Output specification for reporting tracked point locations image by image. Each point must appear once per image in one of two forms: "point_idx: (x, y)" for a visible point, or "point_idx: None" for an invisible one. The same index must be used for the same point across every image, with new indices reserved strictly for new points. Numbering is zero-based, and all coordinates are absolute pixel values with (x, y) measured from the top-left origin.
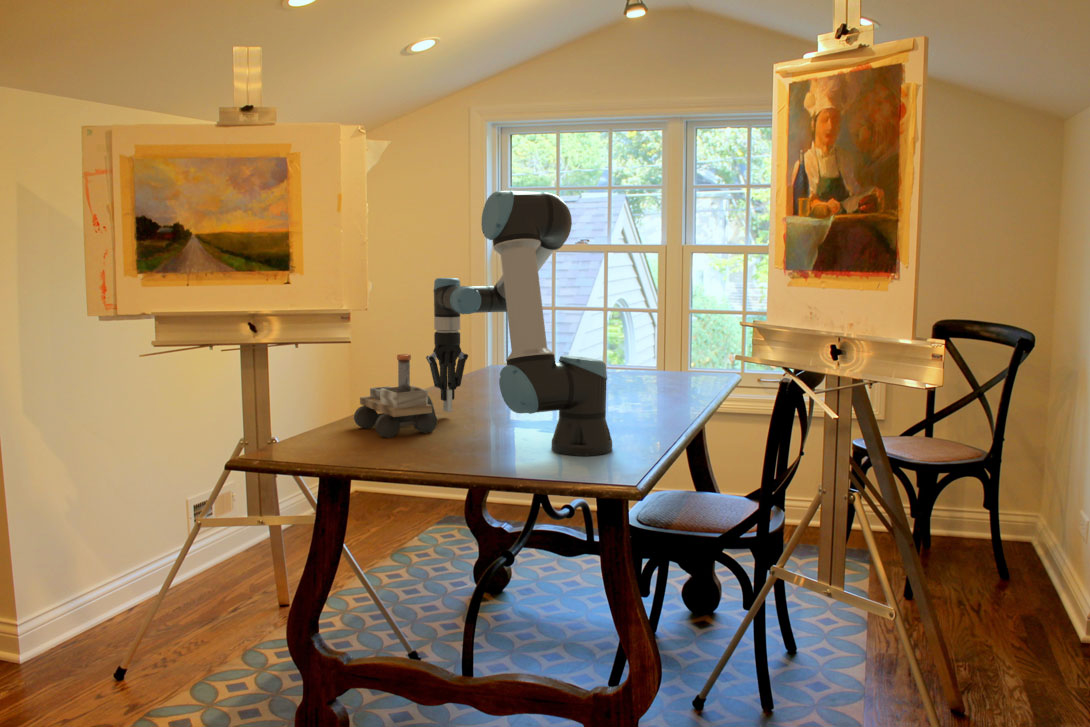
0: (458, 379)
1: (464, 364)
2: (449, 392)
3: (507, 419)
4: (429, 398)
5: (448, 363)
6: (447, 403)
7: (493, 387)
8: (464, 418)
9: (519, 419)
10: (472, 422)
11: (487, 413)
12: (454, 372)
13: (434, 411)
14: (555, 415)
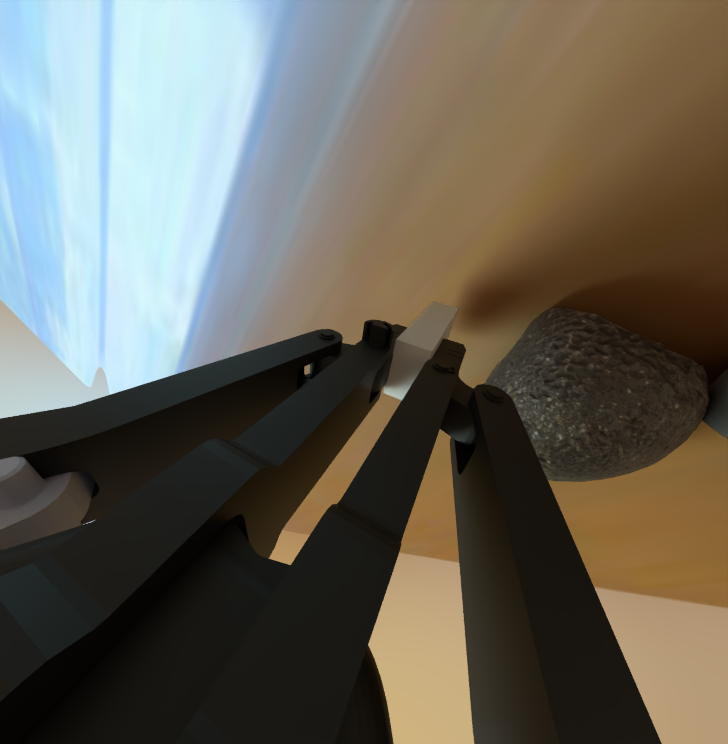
0: (305, 352)
1: (120, 393)
2: (420, 340)
3: (278, 64)
4: (537, 408)
5: (257, 548)
6: (449, 322)
7: None
8: (406, 247)
9: (236, 18)
10: (455, 110)
11: (285, 265)
12: (296, 399)
13: (554, 326)
14: (104, 16)
